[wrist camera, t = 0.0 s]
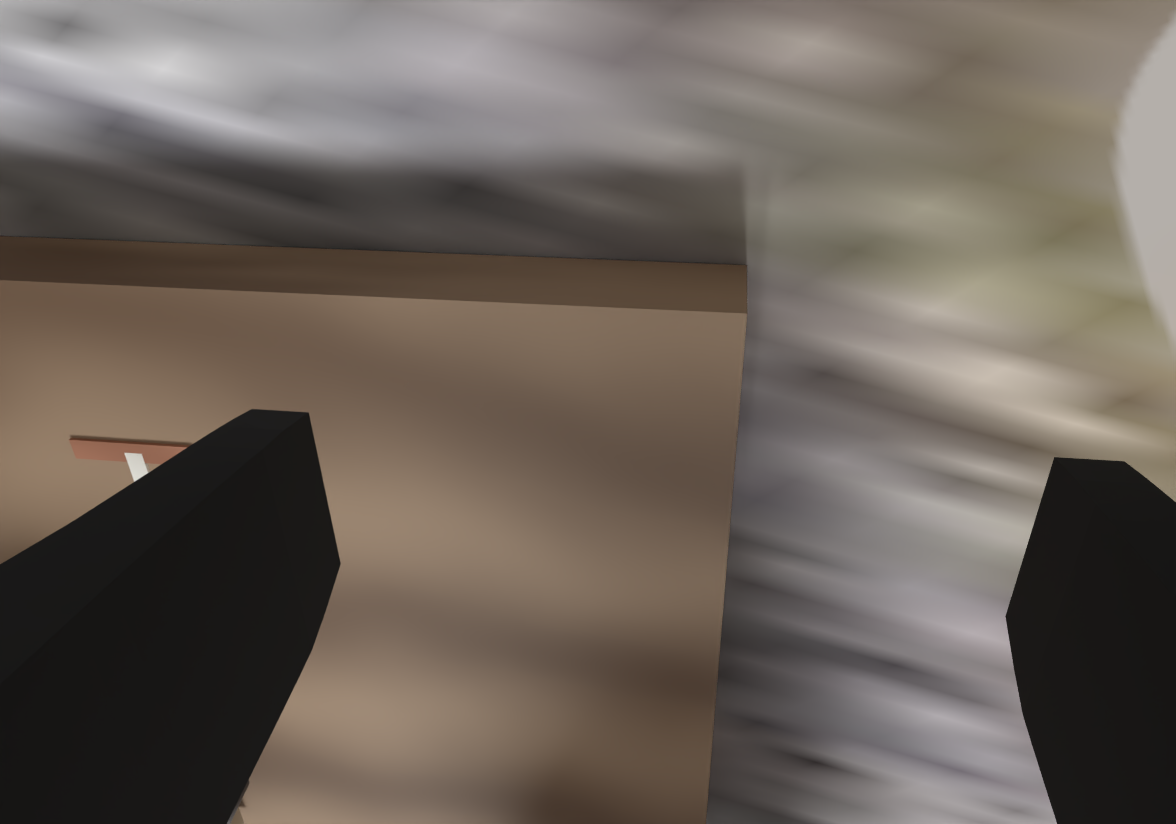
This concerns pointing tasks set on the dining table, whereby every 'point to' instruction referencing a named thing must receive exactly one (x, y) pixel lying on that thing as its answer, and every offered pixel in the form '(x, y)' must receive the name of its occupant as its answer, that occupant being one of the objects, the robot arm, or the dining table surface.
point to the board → (427, 500)
